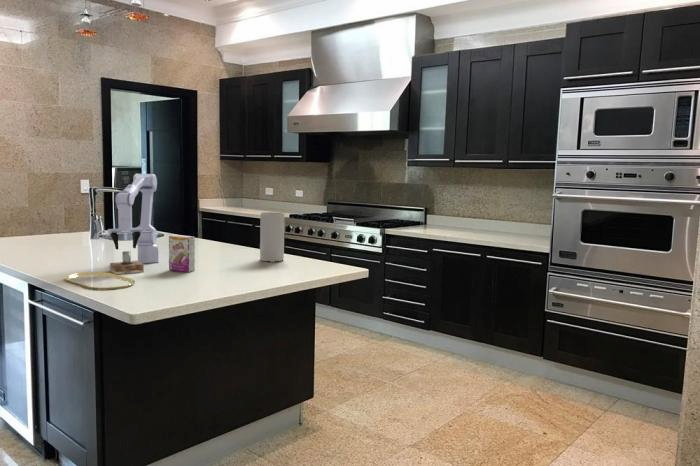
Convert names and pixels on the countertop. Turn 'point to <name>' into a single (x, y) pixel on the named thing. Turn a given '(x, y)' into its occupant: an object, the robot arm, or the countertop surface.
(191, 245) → the candy bar box
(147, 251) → the robot arm
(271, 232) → the cylinder vase
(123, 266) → the socket block
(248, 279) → the countertop surface
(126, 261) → the pin
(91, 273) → the yellow rubber band
